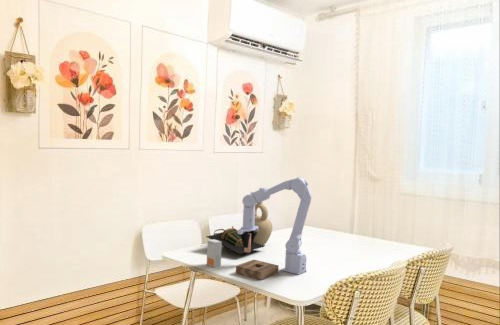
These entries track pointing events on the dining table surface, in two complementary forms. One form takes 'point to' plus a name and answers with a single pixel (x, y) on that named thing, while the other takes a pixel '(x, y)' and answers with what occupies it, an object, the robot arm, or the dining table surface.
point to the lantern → (232, 240)
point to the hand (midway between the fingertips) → (247, 246)
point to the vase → (262, 225)
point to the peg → (248, 245)
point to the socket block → (257, 269)
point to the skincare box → (214, 253)
